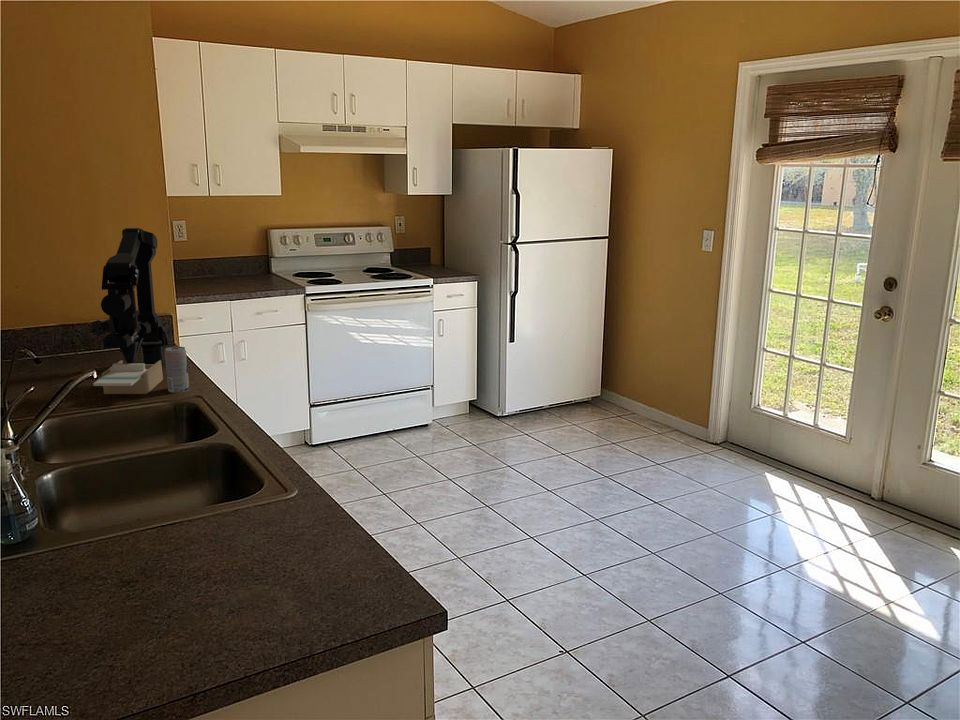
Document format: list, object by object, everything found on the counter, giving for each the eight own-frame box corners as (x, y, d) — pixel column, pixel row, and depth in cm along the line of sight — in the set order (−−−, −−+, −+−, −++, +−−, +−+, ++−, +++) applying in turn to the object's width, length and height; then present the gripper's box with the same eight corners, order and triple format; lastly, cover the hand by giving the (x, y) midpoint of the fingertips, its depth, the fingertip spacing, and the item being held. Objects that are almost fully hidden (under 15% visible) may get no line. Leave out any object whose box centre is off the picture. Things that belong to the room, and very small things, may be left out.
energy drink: (188, 387, 213) (184, 345, 209) (190, 393, 208) (187, 350, 205) (167, 390, 210) (163, 347, 207) (169, 395, 206) (165, 352, 202)
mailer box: (123, 381, 217) (120, 360, 215) (163, 381, 218) (161, 360, 216) (104, 396, 205) (101, 373, 203) (146, 395, 205) (144, 373, 204)
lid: (113, 371, 208) (112, 362, 208) (149, 371, 209) (148, 362, 208) (93, 385, 196) (92, 376, 196) (131, 385, 197) (130, 376, 196)
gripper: (107, 301, 213) (113, 356, 217) (77, 315, 195) (85, 375, 199) (148, 301, 213) (154, 356, 218) (122, 316, 195) (129, 375, 200)
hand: (130, 365), depth 208 cm, fingers closed
